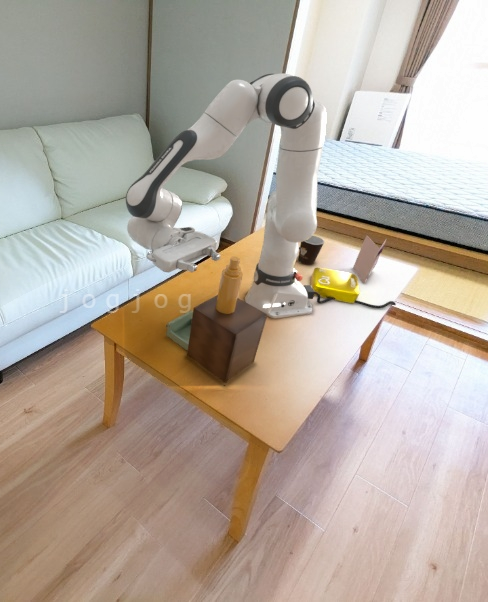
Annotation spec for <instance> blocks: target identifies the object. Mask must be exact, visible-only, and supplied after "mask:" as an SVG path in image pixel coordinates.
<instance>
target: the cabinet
mask: <svg viewBox="0 0 488 602" xmlns="http://www.w3.org/2000/svg"><path fill="white" fill-rule="evenodd" d="M217 297H218V294H216V295H214V296H212V297H211V298H209V299H207V300H204V302H201V303H199V304H198V305H196V306H195V307H193V308H192V309H193V310H192V311H193V316H192V323H191V330H190V338H189V345H188V351H187V352H186V356H188V357H189V358H190V359H192V360H193V361H194V362H196V364H197V363H198V365H200V366H201V367H203V368H204V369H205V370H207V371H208V372H210V374H212V375H213V376H214V377H216V378H217V379H218V380H220V381H221V382H223V383H224V384H223V386H224V387H225V386H226V383H227V382H229V381H230V380H231V379H232V378H234V377H236V376H237V375H238V374H239V373H241V372H242V371H243V370H245V369H246V368H247V367H249V366H250V365H252V364H253V363H254V362H255V359H256V355H257V353H258V348H259V346H260V345H259V344H260V341H261V338H262V334H263V331H264V329H265V325H266V321H267V317H268V316H267V314H266V313H264V312H262V311H261V310H259V309H257V308H255V307H253V306H252V305H250V304H248V303H246V301H245V300H242V299H241V298H239V297H238V298H237V303H236V307H235V311H234V312H233V313H231V314H224V313H221V312H219V311H218V310H217V309H216V302H217Z"/></svg>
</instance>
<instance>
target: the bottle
mask: <svg viewBox="0 0 488 602" xmlns="http://www.w3.org/2000/svg"><path fill="white" fill-rule="evenodd" d="M240 260H241V259H240V257H239V256H231V257H230V259H229V263H228V264H227V265H226V266H225V268H224V269H222V270H221V275H220V281H219V287H218V291H217V295H218V297H217V302H216V309H217V310H218V311H219V312H221V313H224V314H231V313H233V312H234V311H235V307H236V303H237V298H239V295H240V294H239V293H240V289H241V284H242V279H243V276H244V275H243V272H242V268H241V266H240Z"/></svg>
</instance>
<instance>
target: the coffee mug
mask: <svg viewBox="0 0 488 602" xmlns="http://www.w3.org/2000/svg"><path fill="white" fill-rule="evenodd" d="M324 244H325V239H323V238H322V237H320V236H317V235H314V234H313V235H312V236H311V237H310V238H309V239H307V240H305V241H303V242H300V243H299V252H298V255H297V261H298V262H299V264H302V265H306V266H312V265H314V264H315V263H316V260H317V258H318V256H319V254H320V252H321V250H322V248H323V246H324Z"/></svg>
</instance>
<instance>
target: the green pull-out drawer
mask: <svg viewBox="0 0 488 602" xmlns="http://www.w3.org/2000/svg"><path fill="white" fill-rule="evenodd" d="M192 316H193V310H189V311H187V312H185V313H184V314H182V315H180V316H177V317H176V318H174V319H173V320H170V321H169V322H167V324H166V326H165V327H166V337H168V338H169V339H170V340H172V341H173V342H175V343H176V344H177V345H179V346H180V347H181V348H183V349H184V350H186V351H187V352H188V345H189V338H190V330H191V323H192Z"/></svg>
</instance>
